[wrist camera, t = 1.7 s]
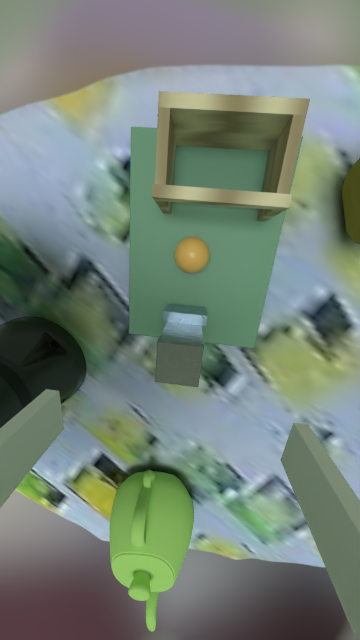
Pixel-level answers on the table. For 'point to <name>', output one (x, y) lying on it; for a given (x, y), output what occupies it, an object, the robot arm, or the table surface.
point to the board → (214, 229)
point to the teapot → (150, 535)
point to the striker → (181, 345)
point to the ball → (192, 254)
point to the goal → (229, 145)
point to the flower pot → (352, 202)
